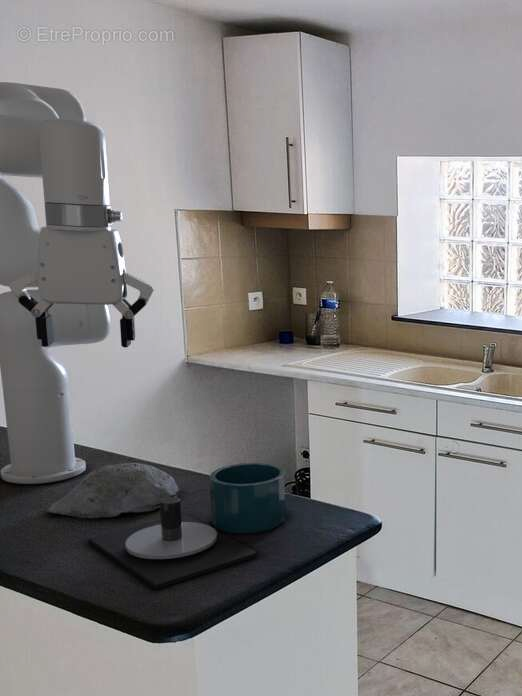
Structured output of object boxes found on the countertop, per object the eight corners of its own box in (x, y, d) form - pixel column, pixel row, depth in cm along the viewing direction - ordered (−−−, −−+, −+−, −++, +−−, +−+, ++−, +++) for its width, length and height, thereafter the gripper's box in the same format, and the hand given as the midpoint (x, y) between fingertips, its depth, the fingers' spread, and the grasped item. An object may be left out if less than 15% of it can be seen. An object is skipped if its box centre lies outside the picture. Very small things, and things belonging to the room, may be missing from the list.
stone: (116, 458, 137) (191, 445, 133) (128, 500, 138) (202, 489, 134) (33, 485, 120) (116, 472, 116) (46, 533, 121) (129, 522, 117)
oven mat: (88, 542, 112) (88, 538, 111) (185, 517, 122) (185, 513, 122) (156, 589, 99) (156, 585, 99) (257, 556, 110) (257, 552, 110)
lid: (134, 532, 114) (131, 488, 113) (220, 527, 118) (219, 484, 116) (117, 566, 103) (113, 518, 102) (213, 560, 107) (211, 513, 105)
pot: (215, 509, 126) (213, 464, 124) (285, 505, 129) (284, 461, 127) (208, 535, 116) (206, 486, 114) (285, 531, 119) (283, 483, 117)
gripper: (154, 220, 111) (160, 341, 116) (12, 213, 106) (24, 339, 110) (145, 223, 104) (152, 351, 109) (-7, 215, 99) (6, 350, 104)
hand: (87, 345), depth 110 cm, fingers open, 9 cm apart
